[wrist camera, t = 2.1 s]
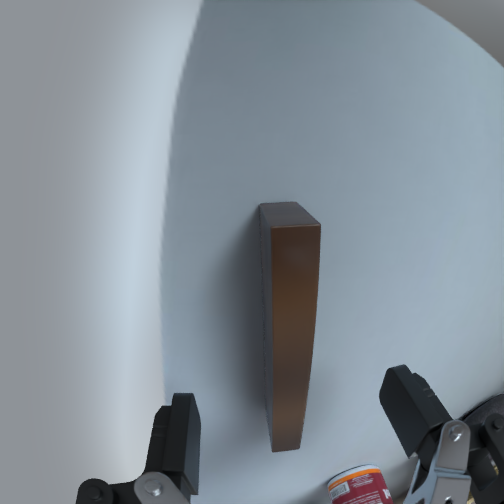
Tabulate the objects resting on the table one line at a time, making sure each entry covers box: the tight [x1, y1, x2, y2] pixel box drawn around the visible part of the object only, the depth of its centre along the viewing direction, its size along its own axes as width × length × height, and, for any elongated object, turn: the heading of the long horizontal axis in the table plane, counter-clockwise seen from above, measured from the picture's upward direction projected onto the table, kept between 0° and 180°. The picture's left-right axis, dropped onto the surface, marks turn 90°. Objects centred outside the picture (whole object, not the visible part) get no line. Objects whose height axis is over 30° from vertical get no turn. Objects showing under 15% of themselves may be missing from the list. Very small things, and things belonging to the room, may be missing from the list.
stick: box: [259, 202, 321, 452], centre depth 13 cm, size 13×2×4 cm, turn 3°
